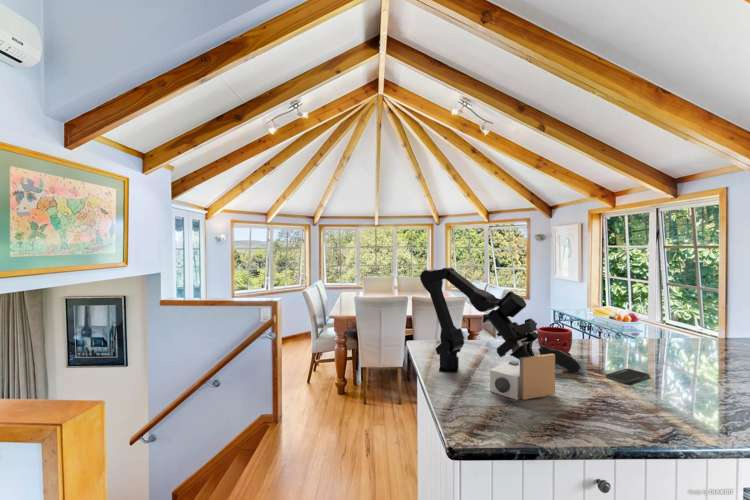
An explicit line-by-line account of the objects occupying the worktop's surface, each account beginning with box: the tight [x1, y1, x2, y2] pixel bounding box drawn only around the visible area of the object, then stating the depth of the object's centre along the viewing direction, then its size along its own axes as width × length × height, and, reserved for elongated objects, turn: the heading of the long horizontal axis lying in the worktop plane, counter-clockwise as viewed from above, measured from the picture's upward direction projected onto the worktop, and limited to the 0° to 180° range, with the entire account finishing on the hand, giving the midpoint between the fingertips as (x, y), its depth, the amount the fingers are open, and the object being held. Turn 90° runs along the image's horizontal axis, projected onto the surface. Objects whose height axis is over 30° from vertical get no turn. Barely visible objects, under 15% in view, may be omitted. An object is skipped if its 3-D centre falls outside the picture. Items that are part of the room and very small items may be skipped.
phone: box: [605, 368, 651, 385], centre depth 127 cm, size 8×1×15 cm
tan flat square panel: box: [519, 354, 556, 400], centre depth 111 cm, size 2×12×12 cm, turn 109°
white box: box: [489, 360, 520, 400], centre depth 117 cm, size 9×15×8 cm, turn 133°
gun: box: [538, 346, 584, 374], centre depth 134 cm, size 3×16×10 cm, turn 79°
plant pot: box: [536, 326, 573, 356], centre depth 150 cm, size 13×13×12 cm
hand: (536, 366), depth 112 cm, fingers closed
